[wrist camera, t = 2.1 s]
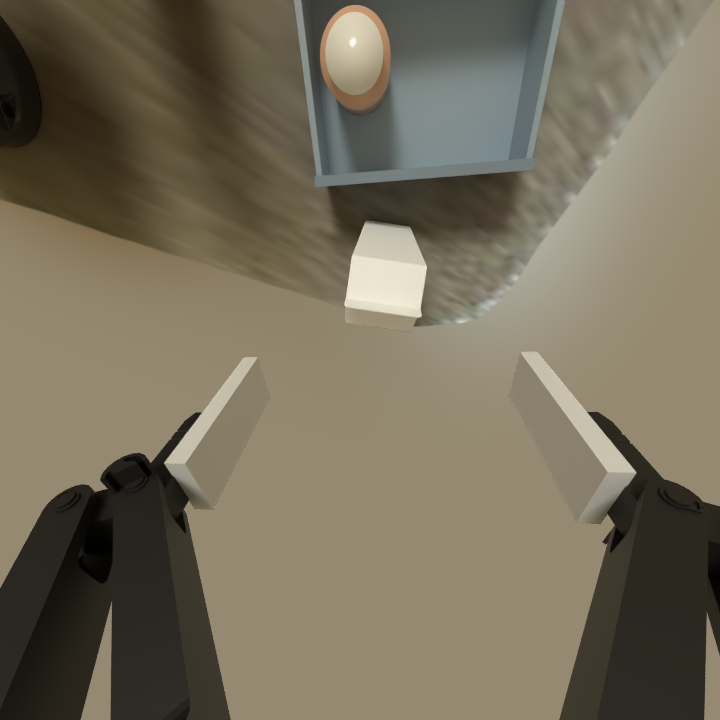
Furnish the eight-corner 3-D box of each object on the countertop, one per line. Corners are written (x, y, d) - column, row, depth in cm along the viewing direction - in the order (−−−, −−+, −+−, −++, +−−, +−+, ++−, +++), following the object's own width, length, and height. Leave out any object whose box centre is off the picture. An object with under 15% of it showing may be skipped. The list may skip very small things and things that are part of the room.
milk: (365, 219, 38) (346, 263, 20) (411, 226, 38) (433, 276, 20) (360, 265, 42) (338, 340, 23) (401, 272, 42) (413, 351, 23)
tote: (325, 184, 37) (315, 187, 31) (301, -17, 28) (282, -59, 23) (512, 169, 34) (534, 169, 29) (552, -55, 25) (593, -111, 20)
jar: (336, 118, 32) (323, 106, 26) (329, 41, 29) (312, 6, 23) (390, 112, 32) (391, 99, 25) (389, 33, 29) (390, -6, 22)
